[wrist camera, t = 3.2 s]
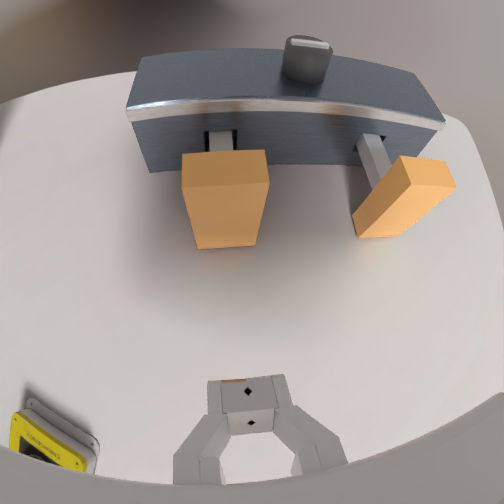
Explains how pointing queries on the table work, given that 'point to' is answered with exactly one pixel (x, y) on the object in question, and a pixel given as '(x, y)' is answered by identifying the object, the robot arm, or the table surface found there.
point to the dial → (306, 59)
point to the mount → (275, 108)
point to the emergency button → (52, 439)
